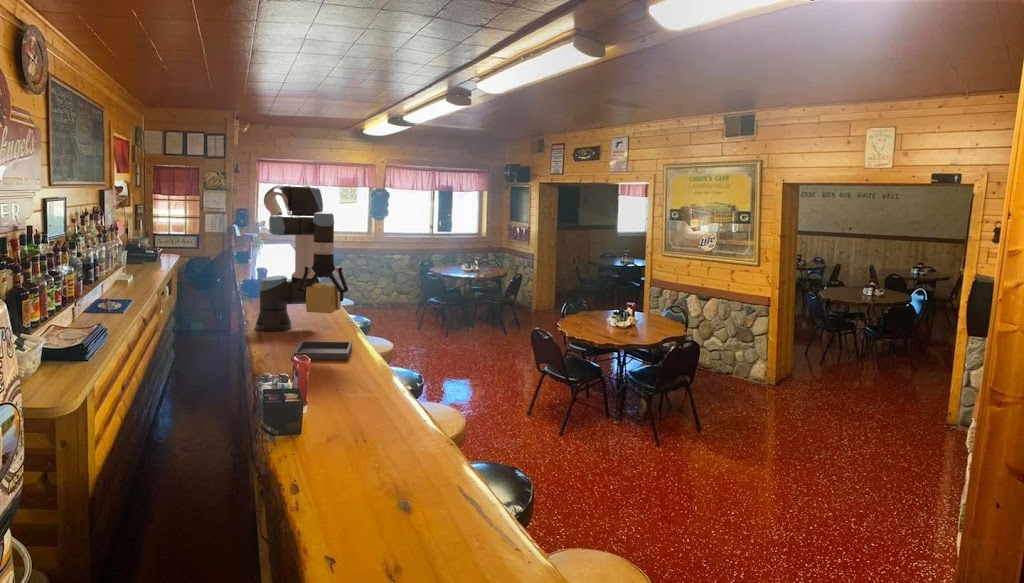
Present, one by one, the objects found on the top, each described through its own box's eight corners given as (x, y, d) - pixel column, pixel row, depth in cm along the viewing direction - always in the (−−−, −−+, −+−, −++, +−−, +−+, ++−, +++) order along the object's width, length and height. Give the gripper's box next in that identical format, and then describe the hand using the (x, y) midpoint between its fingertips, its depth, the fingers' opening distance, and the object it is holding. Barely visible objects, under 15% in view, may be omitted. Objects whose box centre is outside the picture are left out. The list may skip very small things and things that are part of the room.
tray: (301, 348, 261) (301, 341, 261) (352, 348, 264) (352, 341, 264) (293, 360, 244) (293, 352, 243) (347, 360, 247) (347, 353, 246)
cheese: (341, 309, 256) (341, 284, 254) (330, 314, 245) (331, 288, 244) (315, 307, 257) (315, 282, 255) (304, 312, 246) (304, 286, 244)
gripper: (290, 253, 242) (290, 310, 245) (354, 255, 245) (353, 311, 249) (293, 251, 249) (294, 306, 253) (355, 253, 253) (355, 307, 256)
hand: (323, 309), depth 251 cm, fingers closed on cheese, 11 cm apart
